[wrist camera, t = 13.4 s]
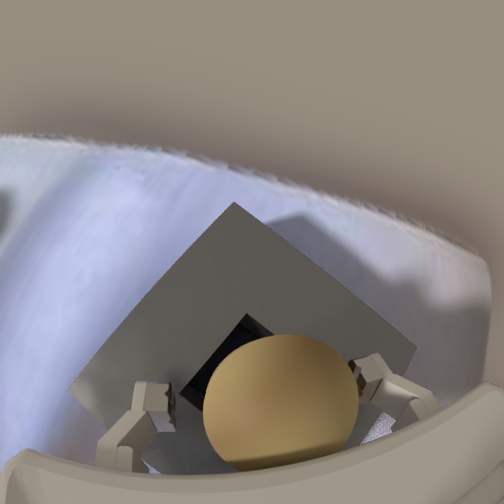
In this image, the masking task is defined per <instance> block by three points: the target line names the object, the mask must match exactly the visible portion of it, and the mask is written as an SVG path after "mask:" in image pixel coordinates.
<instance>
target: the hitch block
mask: <svg viewBox="0 0 504 504" xmlns="http://www.w3.org/2000/svg"><path fill="white" fill-rule="evenodd" d="M239 322H240V323H241V324H242V325H243V326H245V327H246V328H247V329H249V330H250V331H251V332H252V333H254V334H255V335H256V336H258V337H259V338H260V339H261V338H265V337H269V336H274V335H284V334H291V335H301V336H307V337H310V338H313V339H316V340H318V341H320V342H323V343H325V344H326V345H328V346H329V347H331V348H332V349H334V350H335V351H336V352H337V353H338V354H340V356H341V357H342V358H343V359H344V360H345V361H346V363H347V364H348V362H349V361H350V360H351V359H355V358H358V357H362V356H366V355H371V354H374V353H378V354H380V356H381V357H382V359H383V360H384V361H385V363H386V364H387V366H388V367H389V369H390V370H391V372H392V373H393V374H397V375H399V376H401V377H402V376H403V374H404V372H405V370H406V368H407V366H408V364H409V362H410V360H411V358H412V356H413V354H414V352H415V350H416V348H417V347H416V346H415V345H414V344H412V343H411V342H410V341H409V340H408V339H407V338H405V337H404V336H403V335H402V334H401V333H399V332H398V331H397V330H396V329H395V328H394V327H392V326H391V325H390V324H389V323H388V322H386V321H385V320H384V319H383V318H382V317H380V316H379V315H378V314H377V313H376V312H374V311H373V310H372V309H371V308H370V307H368V306H367V305H366V304H365V303H363V302H362V301H361V300H360V299H359V298H357V297H356V296H355V295H354V294H352V293H351V292H350V291H349V290H347V289H346V288H345V287H344V286H342V285H341V284H340V283H339V282H338V281H336V280H335V279H334V278H333V277H331V276H330V275H329V274H328V273H326V272H325V271H324V270H322V269H321V268H320V267H319V266H317V265H316V264H315V263H314V262H312V261H311V260H310V259H309V258H307V257H306V256H305V255H303V254H302V253H301V252H300V251H298V250H297V249H296V248H294V247H293V246H292V245H291V244H289V243H288V242H287V241H285V240H284V239H283V238H281V237H280V236H279V235H278V234H276V233H275V232H274V231H272V230H271V229H270V228H268V227H267V226H266V225H264V224H263V223H262V222H260V221H259V220H258V219H257V218H255V217H254V216H253V215H251V214H250V213H249V212H247V211H246V210H245V209H243V208H242V207H241V206H239V205H238V204H236V203H235V202H233V203H232V204H231V205H230V206H229V207H228V208H227V209H226V210H225V211H224V212H223V213H222V214H221V215H220V216H219V217H218V218H217V219H216V220H215V221H214V222H213V223H212V224H211V225H210V226H209V227H208V229H207V230H206V231H205V232H204V233H203V234H202V235H201V236H200V237H199V238H198V239H197V240H196V241H195V242H194V243H193V244H192V245H191V246H190V247H189V248H188V249H187V250H186V252H185V253H184V254H183V255H182V256H181V257H180V258H179V259H178V260H177V261H176V262H175V263H174V264H173V266H172V267H171V268H170V269H169V270H168V271H167V272H166V273H165V274H164V275H163V276H162V278H161V279H160V280H159V281H158V282H157V283H156V284H155V285H154V286H153V288H152V289H151V290H150V291H149V292H148V293H147V294H146V295H145V296H144V298H143V299H142V300H141V301H140V302H139V303H138V304H137V306H136V307H135V308H134V309H133V310H132V311H131V312H130V314H129V315H128V316H127V317H126V318H125V319H124V321H123V322H122V323H121V324H120V325H119V326H118V328H117V329H116V330H115V331H114V332H113V334H112V335H111V336H110V337H109V338H108V340H107V341H106V342H105V343H104V344H103V346H102V347H101V348H100V349H99V351H98V352H97V353H96V354H95V355H94V357H93V358H92V359H91V360H90V362H89V363H88V364H87V365H86V367H85V368H84V369H83V370H82V372H81V373H80V374H79V375H78V377H77V378H76V379H75V381H74V382H73V383H72V385H71V386H70V387H69V388H68V390H69V391H70V392H71V393H72V394H73V395H74V396H75V398H76V399H77V400H78V401H79V402H80V403H81V404H82V405H83V406H84V407H85V408H86V409H87V410H88V412H89V413H90V414H91V415H92V416H93V417H94V418H95V419H96V420H97V421H98V422H99V423H101V424H102V425H103V426H104V427H105V428H106V429H107V430H108V431H109V430H110V429H111V428H112V427H113V426H114V425H115V424H116V422H117V421H118V420H119V419H120V418H121V417H122V416H123V415H124V414H125V413H126V412H127V411H128V410H130V411H131V408H132V401H133V394H134V388H135V383H136V381H155V382H171V385H172V391H173V392H174V395H175V399H176V412H175V413H174V415H175V418H176V432H158V433H157V435H156V436H155V438H154V439H153V441H152V442H151V443H150V445H149V446H148V448H147V449H146V451H145V452H144V453H143V455H142V456H141V459H142V460H143V461H145V462H146V463H147V464H149V465H150V466H151V467H153V468H154V469H156V470H157V471H158V472H160V473H161V474H168V475H206V474H224V473H236V472H241V471H239V470H237V469H235V468H234V467H232V466H231V465H229V464H228V463H227V462H226V461H225V460H224V459H222V458H221V457H220V455H219V454H218V453H217V452H216V451H215V449H214V448H213V446H212V444H211V443H210V441H209V438H208V436H207V434H206V430H205V426H204V420H203V405H204V399H205V397H204V396H203V395H202V394H200V393H199V392H198V391H196V390H195V389H194V388H193V387H191V386H190V385H189V384H188V382H189V381H190V380H191V379H192V378H193V377H194V375H195V374H196V373H197V372H198V371H199V370H200V368H201V367H202V366H203V365H204V364H205V363H206V361H207V360H208V359H209V358H210V357H211V355H212V354H213V353H214V352H215V351H216V350H217V348H218V347H219V346H220V345H221V344H222V342H223V341H224V340H225V339H226V338H227V336H228V335H229V334H230V333H231V331H232V330H233V329H234V328H235V327H236V325H237V324H238V323H239ZM381 412H382V410H381V409H380V408H378V407H377V406H375V405H374V404H373V403H371V402H370V401H369V402H365V403H362V404H359V406H358V414H357V418H356V422H355V425H354V427H353V430H352V432H351V434H350V436H349V438H348V439H347V441H346V442H345V444H344V445H343V447H342V448H341V449H340V450H339V451H338V452H341V451H344V450H347V449H350V448H353V447H356V446H359V444H360V443H361V442H362V440H363V439H364V437H365V436H366V435H367V433H368V432H369V430H370V429H371V427H372V426H373V424H374V423H375V421H376V420H377V418H378V417H379V415H380V414H381Z"/></svg>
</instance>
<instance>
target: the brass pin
mask: <svg viewBox="0 0 504 504" xmlns="http://www.w3.org/2000/svg"><path fill="white" fill-rule="evenodd" d="M358 406H359V394H358V388H357V384H356V380H355V377H354V375H353V373H352V371H351V369H350V367H349V366H348V364H347V363H346V361H345V360H344V359H343V358H342V357H341V356H340V354H338V353H337V352H336V351H335V350H334V349H332V348H331V347H329V346H328V345H326V344H325V343H323V342H320V341H318V340H316V339H313V338H310V337H307V336H301V335H291V334H284V335H274V336H269V337H265V338H261V339H258V340H255V341H252V342H249V343H247V344H245V345H242V346H241V347H239V348H237V349H236V350H234V351H233V352H232V353H230V354H229V355H228V356H227V357H226V358H225V359H224V360H223V361H222V362H221V363H220V364H219V365H218V367H217V368H216V370H215V371H214V373H213V375H212V377H211V378H210V381H209V384H208V386H207V390H206V395H205V399H204V405H203V420H204V426H205V430H206V434H207V436H208V438H209V441H210V443H211V444H212V446H213V448H214V449H215V451H216V452H217V453H218V454H219V455H220V457H221V458H222V459H224V460H225V461H226V462H227V463H228V464H229V465H231V466H232V467H234V468H235V469H237V470H239V471H241V472H245V471H253V470H261V469H267V468H273V467H279V466H284V465H289V464H294V463H299V462H303V461H308V460H312V459H316V458H320V457H323V456H327V455H330V454H334V453H337V452H338V451H339V450H340V449H341V448H342V447H343V445H344V444H345V442H346V441H347V439H348V438H349V436H350V434H351V432H352V430H353V427H354V425H355V422H356V418H357V414H358Z"/></svg>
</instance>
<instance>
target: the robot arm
mask: <svg viewBox="0 0 504 504" xmlns="http://www.w3.org/2000/svg"><path fill="white" fill-rule="evenodd" d="M348 366H349V367H350V369H351V371H352V373H353V375H354V377H355V380H356V384H357V388H358V394H359V404H362V403H365V402H369V401H370V402H371V403H373V404H374V405H375V406H377V407H378V408H380V409H381V410H383V411H384V412H385V413H387V414H388V415H390V416H391V417H393V418H394V419H396V422H395V423H394V424H393V426H392V427H391V430H392V433H390V434H388V435H385V436H383V437H380V438H378V439H375V440H373V441H370V442H367V443H364V444H362V445H359V446H356V447H353V448H350V449H347V450H344V451H341V452H337V453H334V454H330V455H327V456H323V457H320V458H316V459H312V460H308V461H303V462H299V463H294V464H289V465H284V466H279V467H273V468H267V469H261V470H253V471H245V472H236V473H224V474H206V475H168V474H150V473H149V468H148V467H147V466H146V465H145V464H144V462H143V461H142V460H141V459H140V458H141V456H142V455H143V453H144V452H145V451H146V449H147V448H148V446H149V445H150V443H151V442H152V441H153V439H154V438H155V436H156V435H157V433H158V432H176V418H175V415H174V413H175V412H176V399H175V395H174V392H173V391H172V385H171V382H155V381H136V383H135V388H134V394H133V401H132V408H131V411H130V410H128V411H127V412H126V413H125V414H124V415H123V416H122V417H121V418H120V419H119V420H118V421H117V422H116V424H115V425H114V426H113V427H112V428H111V429H110V430H109V431H108V432H107V433H106V434H105V435H104V436H103V437H102V438H101V439H100V440H99V441H98V444H97V450H96V456H95V463H94V466H91V465H86V464H82V463H77V462H73V461H69V460H65V459H62V458H58V457H55V456H51V455H48V454H45V453H42V452H39V451H36V450H33V449H24V450H22V451H21V452H19V453H18V454H16V455H15V456H14V457H12V458H11V459H10V460H9V461H7V462H6V464H5V465H4V467H3V470H2V472H1V475H0V504H504V389H503V388H501V387H499V386H497V385H494V384H492V383H489V382H482V383H481V384H479V385H478V386H476V387H475V388H473V389H472V390H470V391H469V392H467V393H466V394H464V395H463V396H461V397H459V398H458V399H456V400H454V401H453V402H451V403H449V404H448V405H446V406H444V407H442V406H441V404H440V403H439V402H438V400H437V399H436V397H435V396H434V395H433V393H432V392H431V391H430V390H428V389H426V388H424V387H421V386H419V385H417V384H415V383H413V382H411V381H409V380H407V379H405V378H403V377H401V376H399V375H397V374H393V373H392V372H391V370H390V369H389V367H388V366H387V364H386V363H385V361H384V360H383V359H382V357H381V356H380V354H378V353H374V354H371V355H366V356H362V357H358V358H355V359H351V360H350V361H349V362H348Z"/></svg>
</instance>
